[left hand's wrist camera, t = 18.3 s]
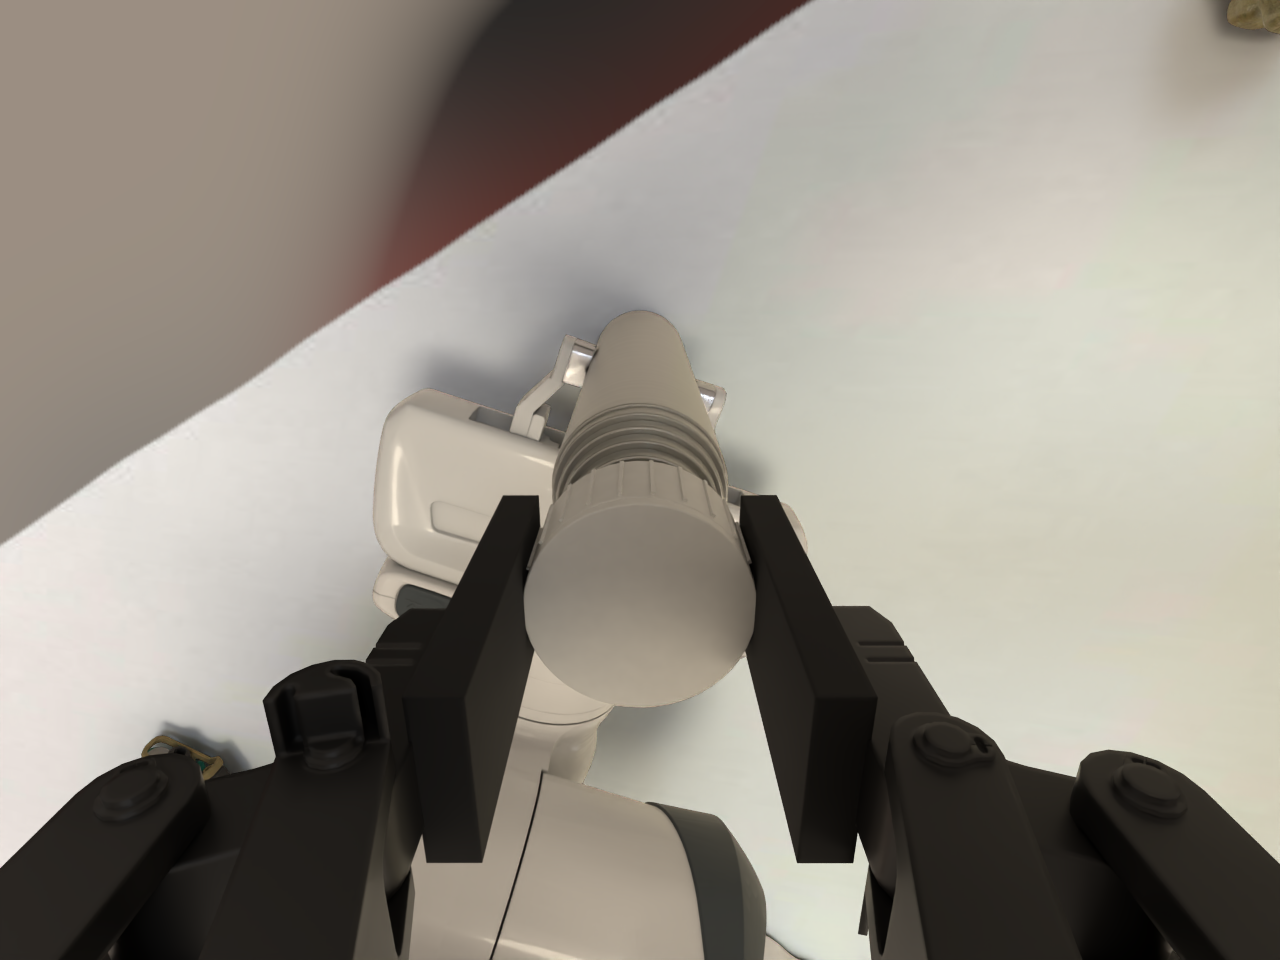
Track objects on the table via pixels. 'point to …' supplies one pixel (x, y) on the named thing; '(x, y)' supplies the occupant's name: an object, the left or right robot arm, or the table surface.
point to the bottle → (639, 407)
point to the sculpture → (1255, 14)
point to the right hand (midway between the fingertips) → (645, 363)
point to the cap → (639, 586)
